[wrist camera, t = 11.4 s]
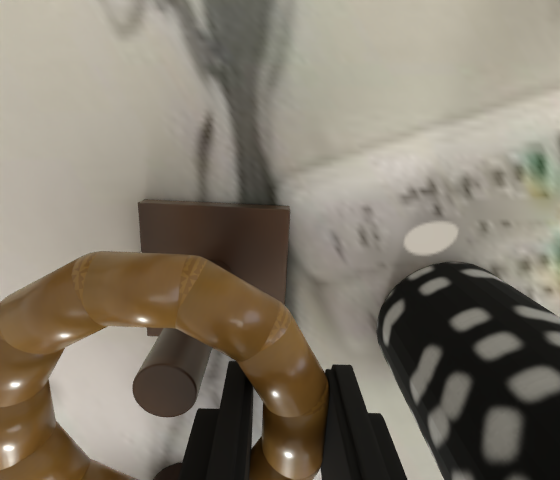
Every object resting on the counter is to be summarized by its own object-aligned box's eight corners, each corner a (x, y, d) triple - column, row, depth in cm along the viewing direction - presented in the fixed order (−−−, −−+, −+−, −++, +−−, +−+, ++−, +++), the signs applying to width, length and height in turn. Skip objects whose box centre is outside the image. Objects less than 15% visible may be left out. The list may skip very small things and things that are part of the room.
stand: (153, 327, 21) (51, 485, 12) (144, 199, 19) (8, 265, 9) (282, 332, 21) (287, 491, 12) (289, 206, 19) (303, 277, 9)
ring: (31, 504, 12) (-12, 567, 10) (-30, 235, 9) (-104, 259, 7) (310, 511, 12) (316, 574, 10) (337, 251, 9) (351, 278, 7)
